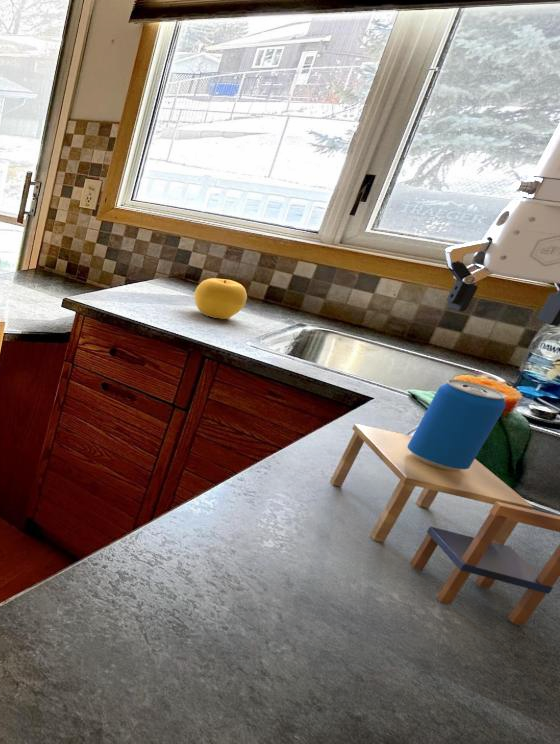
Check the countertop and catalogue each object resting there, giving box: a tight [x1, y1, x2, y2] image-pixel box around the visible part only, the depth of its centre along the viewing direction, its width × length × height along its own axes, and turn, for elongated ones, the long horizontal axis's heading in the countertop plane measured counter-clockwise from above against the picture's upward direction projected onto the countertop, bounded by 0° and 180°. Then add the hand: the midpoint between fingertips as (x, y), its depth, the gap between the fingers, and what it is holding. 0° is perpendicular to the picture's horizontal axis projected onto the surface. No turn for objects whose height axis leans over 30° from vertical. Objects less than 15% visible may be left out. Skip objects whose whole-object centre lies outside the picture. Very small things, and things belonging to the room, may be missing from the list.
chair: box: [409, 501, 560, 627], centre depth 77 cm, size 8×8×15 cm
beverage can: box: [407, 378, 507, 471], centre depth 87 cm, size 6×6×12 cm
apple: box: [194, 277, 248, 320], centre depth 184 cm, size 13×13×11 cm
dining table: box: [329, 423, 534, 545], centre depth 92 cm, size 13×17×11 cm
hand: (500, 315), depth 87 cm, fingers open, 9 cm apart
